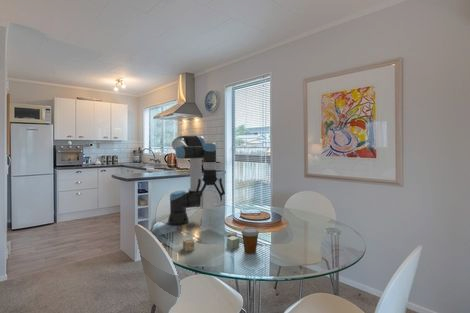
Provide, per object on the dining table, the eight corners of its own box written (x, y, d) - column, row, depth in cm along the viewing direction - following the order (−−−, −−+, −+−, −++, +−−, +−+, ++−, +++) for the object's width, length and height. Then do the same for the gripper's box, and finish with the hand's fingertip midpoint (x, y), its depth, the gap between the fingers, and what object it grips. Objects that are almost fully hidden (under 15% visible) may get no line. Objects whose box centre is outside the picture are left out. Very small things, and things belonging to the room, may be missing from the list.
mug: (216, 210, 153) (216, 192, 152) (198, 208, 158) (198, 190, 157) (223, 207, 161) (223, 189, 160) (206, 205, 166) (206, 188, 165)
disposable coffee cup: (253, 256, 140) (253, 233, 140) (238, 252, 145) (238, 230, 145) (262, 250, 149) (261, 228, 148) (246, 246, 154) (246, 226, 153)
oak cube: (183, 248, 152) (183, 239, 152) (191, 246, 154) (191, 238, 154) (185, 251, 148) (185, 242, 147) (194, 250, 150) (194, 241, 149)
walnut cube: (228, 240, 164) (228, 232, 164) (236, 240, 164) (236, 232, 164) (228, 243, 159) (228, 235, 159) (236, 243, 159) (236, 235, 159)
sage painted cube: (226, 246, 155) (226, 237, 154) (233, 244, 158) (233, 235, 158) (232, 248, 151) (232, 240, 151) (239, 246, 154) (239, 238, 154)
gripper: (190, 170, 152) (191, 209, 153) (229, 169, 156) (230, 207, 157) (190, 169, 160) (190, 206, 161) (227, 168, 164) (228, 204, 165)
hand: (210, 206), depth 159 cm, fingers closed on mug, 10 cm apart
